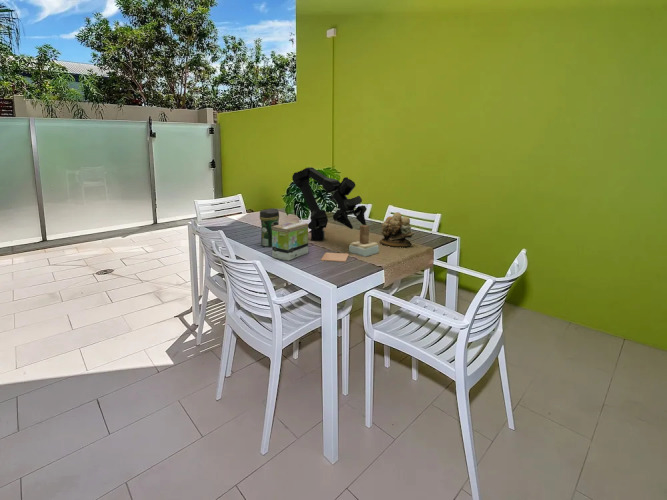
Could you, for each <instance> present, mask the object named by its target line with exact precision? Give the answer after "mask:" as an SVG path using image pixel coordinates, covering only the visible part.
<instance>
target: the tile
mask: <svg viewBox="0 0 667 500" xmlns="http://www.w3.org/2000/svg"><path fill="white" fill-rule="evenodd" d="M349 255H350V253H342V252H341V253H339V252H337V253H336V252H325V253H324V254H323V256H322V258H321V259H320V261H322V262H337V263H338V262H339V263H346V262H347V260H348V258H349Z"/></svg>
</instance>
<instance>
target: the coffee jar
mask: <svg viewBox="0 0 667 500" xmlns="http://www.w3.org/2000/svg"><path fill="white" fill-rule="evenodd" d="M279 219H280V213H279V209H277V208H273V207H272V208H267V209H262V210H260V211H259V220H260V224H261V231H260V232H261V237H260V238H261V239H260V243H261V245H262V246H263V247H264V246H265V248H267V247H268V248H271V247H272V226H276V225H279V224H280V223H279Z"/></svg>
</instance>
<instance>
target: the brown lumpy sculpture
mask: <svg viewBox="0 0 667 500" xmlns="http://www.w3.org/2000/svg"><path fill="white" fill-rule="evenodd" d="M411 230H412V226H411V219H410V217H408V216H402V214H401V212H394V213H393V215H392V216H387V218H386V219H385V221H384V222H382V223H381V235H383V237H382V238H381V240H379V245H381V244H382V246H384V245H385V247H388V246H390V248H395V247H401V248H400V249H406V247H407V248H410V247H411V246H413V245H412V243H411V241H410V240H409V239H410V238H412V237H413V235H415V232H413V231H412V232H411ZM407 238H408V239H407ZM402 247H403V248H402Z"/></svg>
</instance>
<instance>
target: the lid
mask: <svg viewBox="0 0 667 500" xmlns="http://www.w3.org/2000/svg"><path fill="white" fill-rule="evenodd" d="M369 235H370V226H369V225H367V224H366V225H363V224H361V225H360V226H359V240H357V241H353V242H350V245H351V246H355V247H358V248H362V249H367V248H371V247H374V246H377V245H378V242H375V241H370V240H369V239H370V236H369Z"/></svg>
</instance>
